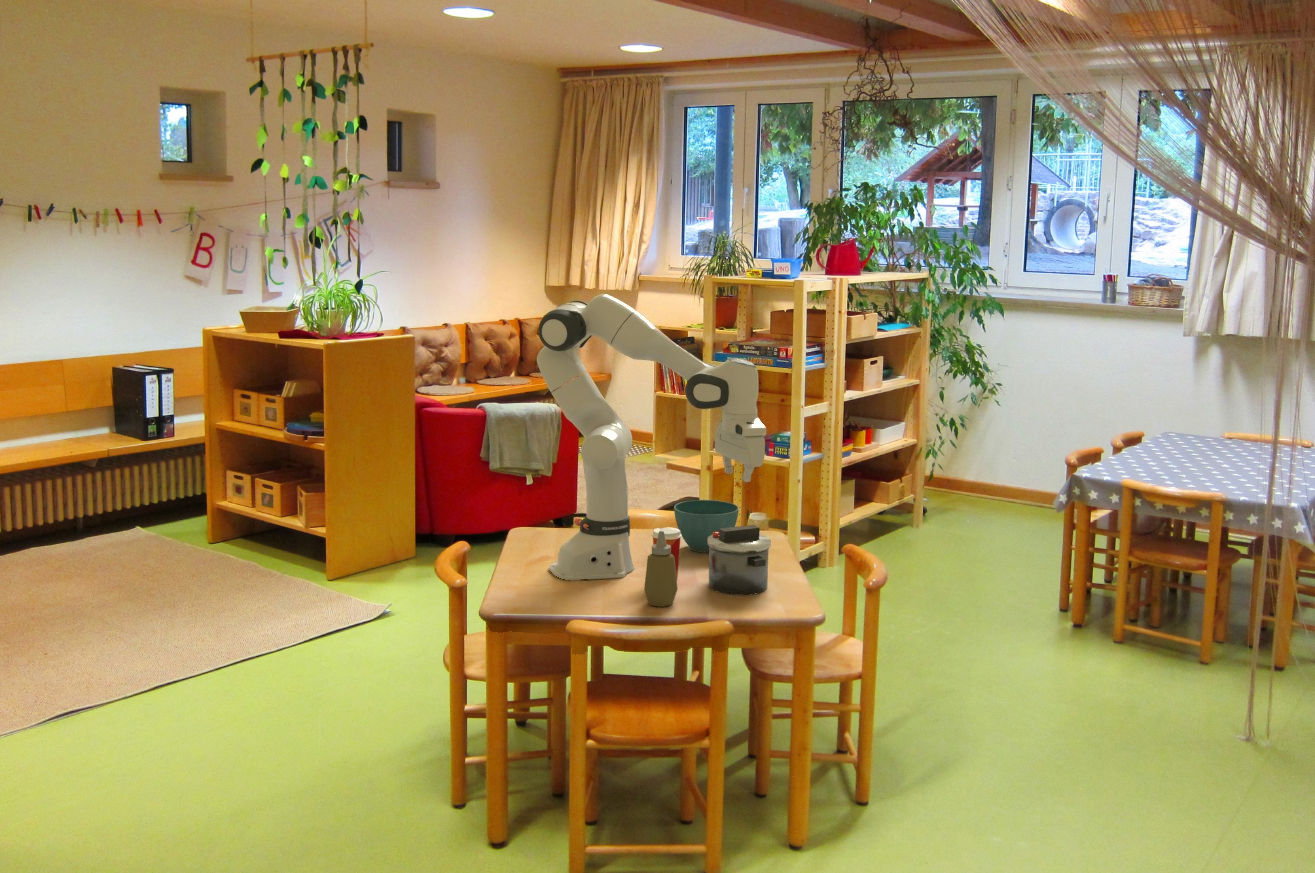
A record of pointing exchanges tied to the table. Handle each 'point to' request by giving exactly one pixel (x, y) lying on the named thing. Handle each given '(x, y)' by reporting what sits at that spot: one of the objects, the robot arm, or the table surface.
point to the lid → (739, 540)
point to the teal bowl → (703, 520)
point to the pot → (738, 572)
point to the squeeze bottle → (661, 574)
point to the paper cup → (670, 542)
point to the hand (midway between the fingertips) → (737, 477)
